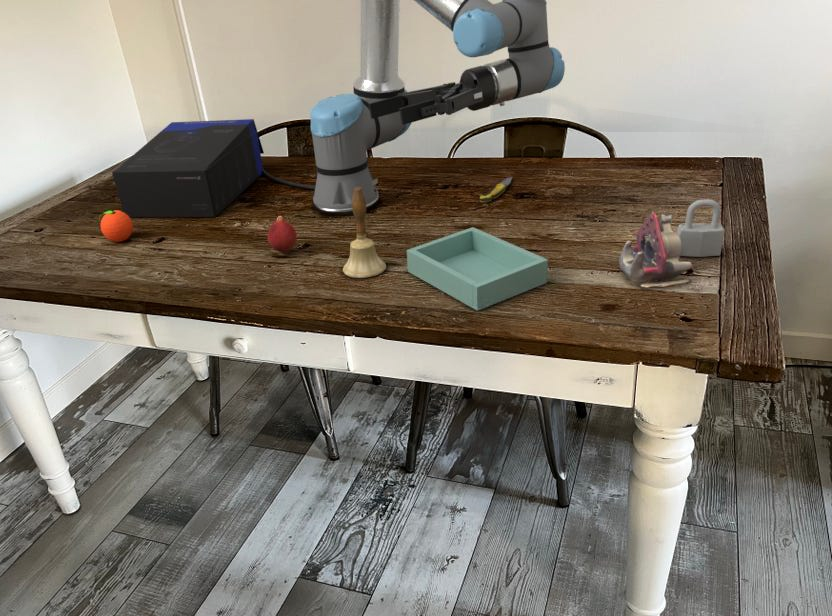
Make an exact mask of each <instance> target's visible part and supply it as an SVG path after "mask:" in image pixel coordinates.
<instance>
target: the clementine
mask: <svg viewBox="0 0 832 616" xmlns="http://www.w3.org/2000/svg"><path fill="white" fill-rule="evenodd" d="M102 216H103V217H102ZM98 220H99V221H98V222H100V230H101V233H102V234H103V236H104V237H105V238H106V239H108V240H109V241H111V242H114V243H118V242H119V243H120V242H123V241H127V240H128V239H129V238H130V237H131V235H132V233H133V230H134V225H133V220H132V217H129V216H128V215H127V214H126V213H124V212H123V210H122V211H121V210H117V209H116V210H115V209H114V210H107V211H104V212H103V213H102V214H100V215H99V219H98Z"/></svg>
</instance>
